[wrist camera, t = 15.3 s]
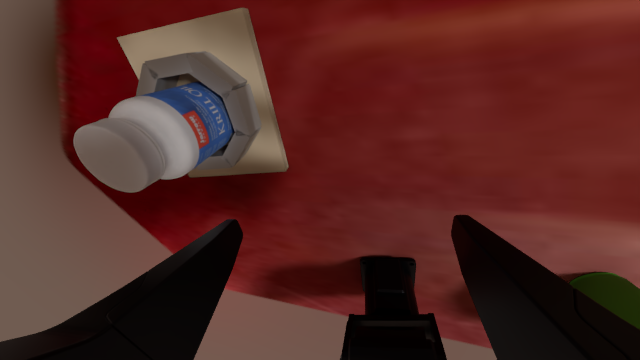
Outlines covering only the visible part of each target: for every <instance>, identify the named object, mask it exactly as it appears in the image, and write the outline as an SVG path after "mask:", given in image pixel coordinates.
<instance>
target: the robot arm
mask: <svg viewBox="0 0 640 360" xmlns="http://www.w3.org/2000/svg"><path fill="white" fill-rule="evenodd" d="M451 236H452V240H453V244H454V247H455V251H456V254H457V258H458V261H459V265H460V269H461V272H462V275H463V278H464V280H465V283H466V285H467V288H468V290H469V293H470V295H471V297H472V300H473V302H474V305H475V307H476V309H477V312H478V314H479V317H480V319H481V322H482V324H483V326H484V329H485V331H486V334H487V336H488V338H489V341H490V343H491V346H492V348H493V350H494V353H495V355H496V357H497V360H640V329H638V328H636V327H635V326H633V325H631V324H630V323H628V322H627V321H625V320H623V319H622V318H620V317H619V316H617V315H616V314H614V313H612V312H611V311H609V310H608V309H606V308H605V307H603V306H602V305H600V304H599V303H597V302H596V301H594V300H593V299H591V298H590V297H588V296H587V295H585V294H584V293H582V292H581V291H579V290H578V289H576V288H574V289H573V286H572V285H570V284H569V283H567V282H566V281H564V280H563V279H561V278H560V277H559V276H557V275H556V274H554V273H553V272H551V271H550V270H548V269H547V268H545V267H544V266H542V265H541V264H539V263H538V262H536V261H535V260H533V259H532V258H530V257H529V256H527V255H526V254H525V253H523V252H522V251H520V250H519V249H517V248H516V247H514V246H513V245H511V244H510V243H508V242H507V241H505V240H504V239H502V238H501V237H499V236H498V235H496V234H495V233H494V232H492V231H491V230H489V229H488V228H486V227H485V226H483V225H482V224H480V223H479V222H477V221H476V220H474V219H473V218H471V217H470V216H468V215H456V216H454V219H453V224H452V230H451ZM242 238H243V232H242V230H241V227H240V225H239V223H238V221H237V220H235V219H228V220H226V221H224V222H223V223H221V224H220V225H218V226H216V227H215V228H213V229H212V230H210V231H209V232H207V233H206V234H204V235H203V236H201V237H200V238H198V239H196V240H195V241H193V242H192V243H190V244H189V245H187V246H186V247H184V248H183V249H181V250H179V251H178V252H176V253H175V254H173V255H172V256H170V257H169V258H167V259H166V260H164V261H163V262H161V263H159V264H158V265H156V266H155V267H153V268H152V269H150V270H149V272H146V273H144V274H143V275H141V276H139V277H138V278H136V279H135V280H133V281H132V282H130V283H128V284H127V285H125V286H124V287H122V288H121V289H119V290H117V291H116V292H114V293H112V294H110V295H109V296H107V297H106V298H104V299H102V300H100V301H99V302H97V303H95V304H94V305H92V306H90V307H88V308H87V309H85V310H84V311H82V312H80V313H78V314H76V315H75V316H73V317H71V318H70V319H68V320H66V321H65V322H63V323H61V324H59V325H57V326H54V327H52V328H50V329H47V330H45V331H42V332H39V333H36V334H32V335H28V336H24V337H20V338H15V339H11V340H6V341H2V342H0V360H194V357H195V355H196V353H197V350H198V348H199V346H200V343H201V341H202V339H203V336H204V334H205V332H206V329H207V327H208V325H209V323H210V320H211V318H212V316H213V313H214V311H215V309H216V306H217V304H218V302H219V299H220V297H221V295H222V292H223V290H224V288H225V286H226V283H227V281H228V279H229V276H230V274H231V271H232V269H233V266H234V263H235V260H236V257H237V254H238V251H239V248H240V245H241V241H242ZM360 266H361V276H362V285H363V291H364V292H365V315H354V314H349V319H348V321H347V325H346V332H345V337H344V343H343V349H342V355H341V358H340V360H447V359H446V355H445V352H444V348H443V344H442V341H441V337H440V334H439V331H438V327H437V324H436V320H435V317H434V313H428V314H419V312H418V307H417V302H416V297H415V292H414V283H415V271H416V262H415V260H414V259H408V258H361V259H360Z"/></svg>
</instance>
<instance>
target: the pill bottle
mask: <svg viewBox="0 0 640 360" xmlns="http://www.w3.org/2000/svg"><path fill="white" fill-rule="evenodd" d="M234 133H235V131H234V128H233V125H232V122H231V120H230V117H229V114H228V111H227V109H226V106H225V103H224V100H223V98H222V97H221V96H220V95H218V94H217V93H216V92H214V91H213V90H211V89H210V88H209V87H207V86H206V85H204V84H203V83H202V82H200V81H199V82H193V83H189V84H185V85H181V86H177V87H173V88H169V89H165V90H161V91H157V92H152V93H148V94H144V95H140V96H136V97H133V98H129V99H126V100H123V101H121V102H120V103H118V104H117V105H116V106H114V108H113V109H112V111H111V112H110V114H109V118H105V119H102V120H99V121H97V122H94V123H91V124H88V125H85V126H82V127H81V128H79V129H78V130H77V131H76V132H75V135H74V139H73V142H74V148H75V150H76V153H77V155H78V157H79V159H80V161H81V162H82V163H83V165H84V166H85V167H86V168H87V169H88V170H89V172H90V173H92V174H93V175H94V176H95V177H96V178H97V179H98V180H100V181H101V182H103V183H104V184H106V185H108V186H110V187H111V188H114V189H116V190H119V191H123V192H129V193H133V192H138V191H141V190H143V189H144V188H146V187H147V186H149V185H151V184H152V183H154V182H156V181H157V180H158V179H176V178H179V177H182V176H184V175H185V174H187V173H188V172H190V171H191V170H193V169H194V168H195V167H197V166H198V165H199V164H201V163H202V162H203V161H204V160H206V159H207V158H208V157H210V156H211V155H212V154H214V153H215V152H216V151H218V150H219V149H220V148H222V147H223V146H224V145H226V144H227V143H228V142H229V141H231V139H232V137H233V135H234Z"/></svg>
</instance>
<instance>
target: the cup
mask: <svg viewBox="0 0 640 360" xmlns="http://www.w3.org/2000/svg"><path fill="white" fill-rule="evenodd" d="M569 284H570V285H572V286H573V289H574V288H576V289H578V290H579V291H581V292H582V293H584V294H585V295H587V296H588V297H590V298H591V299H593V300H594V301H596V302H597V303H599V304H600V305H602V306H603V307H605V308H606V309H608V310H609V311H611V312H612V313H614V314H616V315H617V316H619V317H620V318H622V319H623V320H625V321H627V322H628V323H630V324H631V325H633V326H635V327H636V328H638V329H640V289H639V288H638V287H636V286H635V285H633V284H632V283H631V282H629V281H628V280H626V279H625V278H622V277H620V276H618V275H616V274H613V273H606V272H599V273H591V274H586V275H583V276H580V277H578V278H576V279H574V280H572V281H571V282H570V283H569Z"/></svg>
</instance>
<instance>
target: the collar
mask: <svg viewBox="0 0 640 360" xmlns="http://www.w3.org/2000/svg"><path fill="white" fill-rule="evenodd" d="M117 39H118V41H119V43H120V45H121V47H122V49H123V51H124V53H125V54H126V56H127V58H128V60H129V62H130V64H131V66H132V68H133V70H134V72H135V74H136V76H137V77H138V79H139V83H138V88H137V93H136V96H140V95H144V94H148V93H152V92H157V91H161V90H165V89H169V88H173V87H177V86H181V85H185V84H189V83H193V82H199V81H200V82H202V83H203V84H204V85H206V86H207V87H209V88H210V89H211V90H213V91H214V92H216V93H217V94H218V95H220V96H221V97H222V98H223V100H224V103H225V106H226V109H227V111H228V114H229V117H230V120H231V122H232V125H233V128H234V131H235V133H234V135H233V137H232V139H231V141H229V142H228V143H227V144H226V145H224V146H223V147H222V148H220V149H219V150H218V151H216V152H215V153H214V154H212V155H211V156H210V157H208V158H207V159H206V160H204V161H203V162H202V163H201V164H199V165H198V166H197V167H195V168H194V169H193V170H191V171H190V172H188V175H189V177H190V178H191V177H207V176H222V175H237V174H253V173H268V172H283V171H286V170H287V168H288V167H289V166H288V162H287V158H286V155H285V151H284V147H283V143H282V139H281V135H280V131H279V127H278V124H277V120H276V116H275V112H274V108H273V104H272V100H271V97H270V93H269V89H268V85H267V81H266V77H265V73H264V69H263V66H262V62H261V58H260V54H259V50H258V46H257V42H256V39H255V35H254V31H253V27H252V23H251V19H250V15H249V11H248V9H245V8H239V9H234V10H230V11H226V12H222V13H218V14H213V15H209V16H205V17H201V18H197V19H193V20H188V21H184V22H180V23H176V24H172V25H167V26H163V27H159V28H155V29H151V30H146V31H142V32H138V33H134V34H130V35H125V36H121V37H117Z"/></svg>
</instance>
